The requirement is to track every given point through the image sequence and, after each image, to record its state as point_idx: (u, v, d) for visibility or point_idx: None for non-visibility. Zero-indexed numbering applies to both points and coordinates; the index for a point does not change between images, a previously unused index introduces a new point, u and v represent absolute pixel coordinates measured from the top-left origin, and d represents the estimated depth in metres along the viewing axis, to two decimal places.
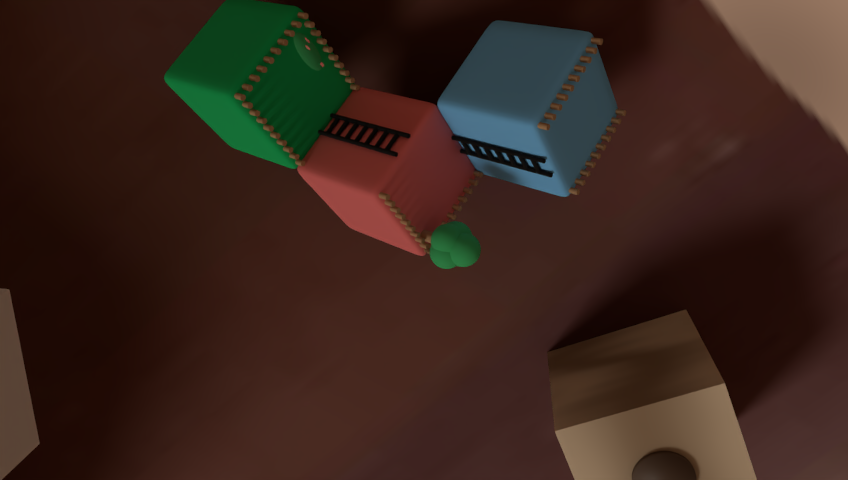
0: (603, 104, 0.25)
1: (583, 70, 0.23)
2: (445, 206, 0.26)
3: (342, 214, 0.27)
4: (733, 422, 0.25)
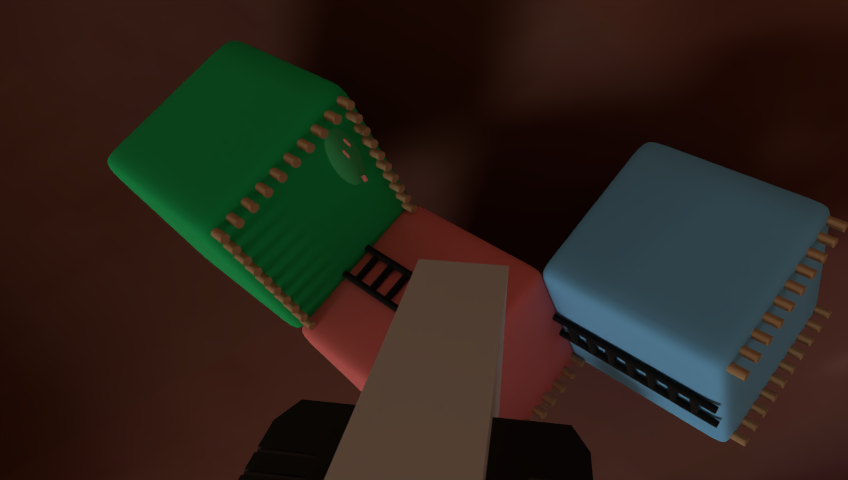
0: (806, 306, 0.15)
1: (813, 276, 0.13)
2: (523, 412, 0.17)
3: (361, 389, 0.18)
4: None
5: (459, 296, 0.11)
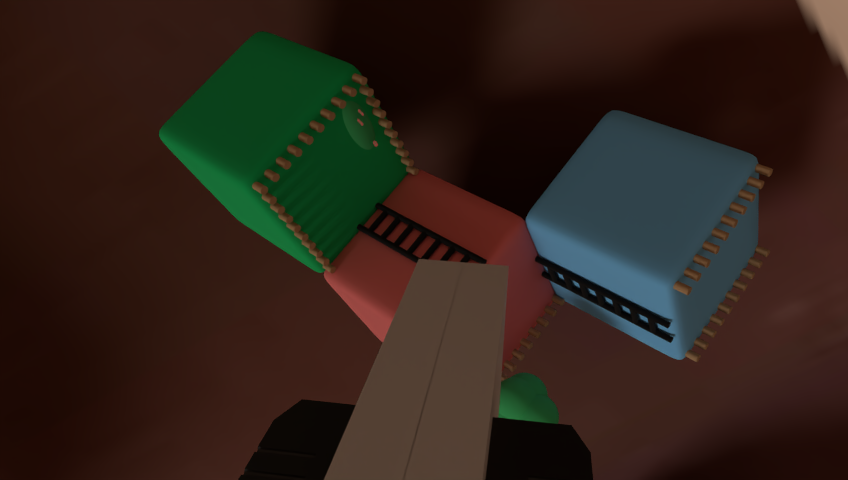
0: (746, 244, 0.18)
1: (743, 212, 0.16)
2: (512, 342, 0.20)
3: (373, 329, 0.21)
4: None
5: (459, 296, 0.11)
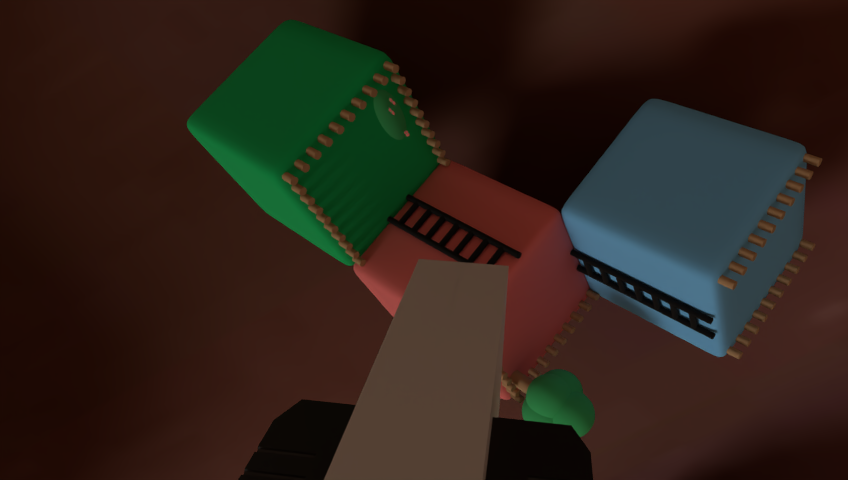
0: (791, 237, 0.18)
1: (791, 204, 0.15)
2: (546, 338, 0.19)
3: None
4: None
5: (459, 296, 0.11)
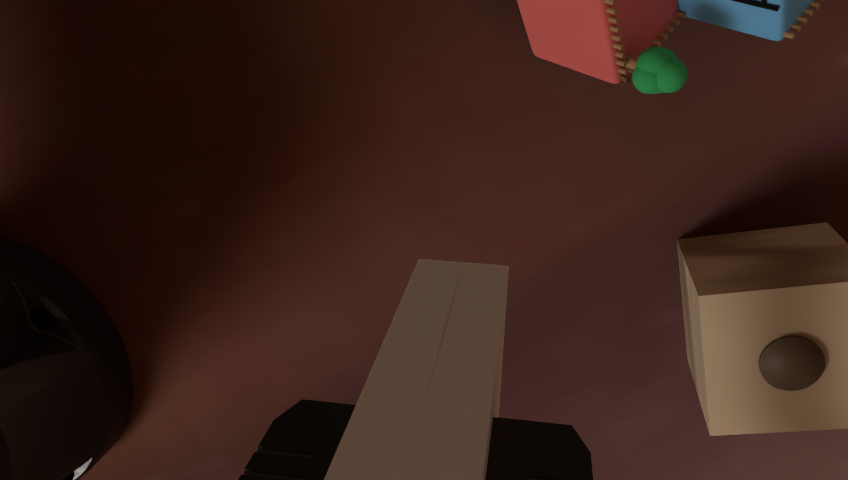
0: None
1: None
2: (647, 38, 0.26)
3: (537, 34, 0.27)
4: None
5: (459, 296, 0.11)
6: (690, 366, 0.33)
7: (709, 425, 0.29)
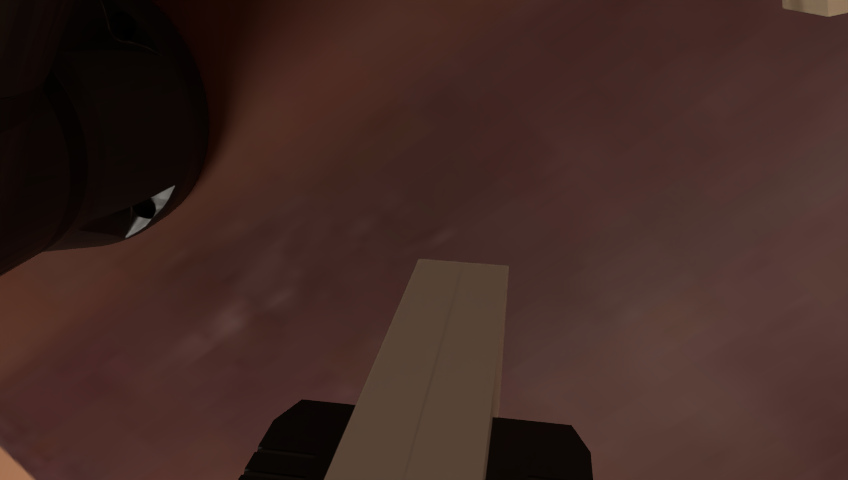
0: None
1: None
2: None
3: None
4: None
5: (459, 296, 0.11)
6: (789, 4, 0.33)
7: (827, 5, 0.28)
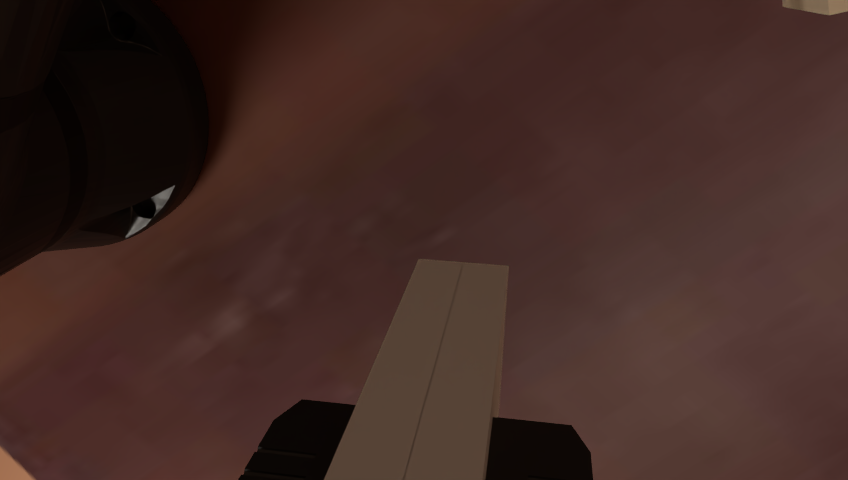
0: None
1: None
2: None
3: None
4: None
5: (459, 296, 0.11)
6: (789, 2, 0.33)
7: (828, 4, 0.28)
